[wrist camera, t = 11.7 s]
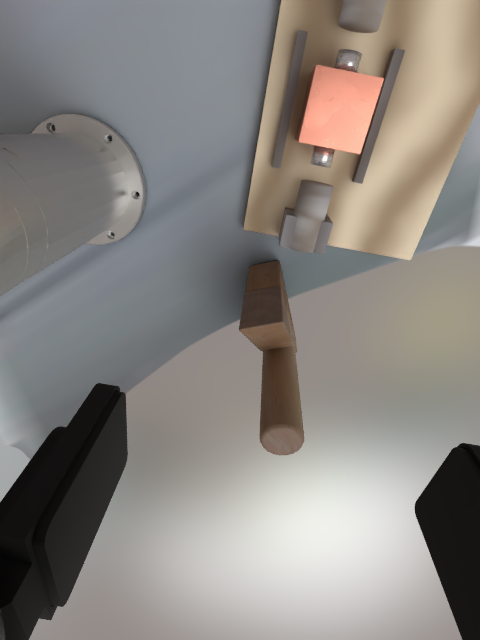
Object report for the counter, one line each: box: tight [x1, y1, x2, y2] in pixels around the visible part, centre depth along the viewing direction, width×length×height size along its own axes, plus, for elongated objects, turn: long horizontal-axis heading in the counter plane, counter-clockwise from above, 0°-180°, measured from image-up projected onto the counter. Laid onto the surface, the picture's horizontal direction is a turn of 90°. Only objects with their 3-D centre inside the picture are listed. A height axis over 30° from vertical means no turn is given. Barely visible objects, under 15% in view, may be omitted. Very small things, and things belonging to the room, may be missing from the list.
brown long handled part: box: [239, 261, 304, 455], centre depth 33 cm, size 4×11×18 cm, turn 14°
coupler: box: [295, 49, 384, 168], centre depth 28 cm, size 5×8×5 cm, turn 170°
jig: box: [243, 0, 480, 260], centre depth 29 cm, size 18×23×5 cm
